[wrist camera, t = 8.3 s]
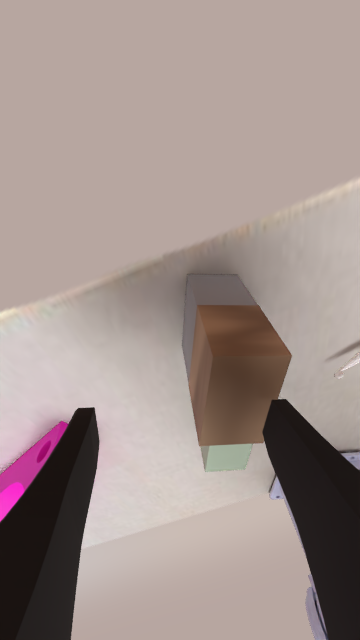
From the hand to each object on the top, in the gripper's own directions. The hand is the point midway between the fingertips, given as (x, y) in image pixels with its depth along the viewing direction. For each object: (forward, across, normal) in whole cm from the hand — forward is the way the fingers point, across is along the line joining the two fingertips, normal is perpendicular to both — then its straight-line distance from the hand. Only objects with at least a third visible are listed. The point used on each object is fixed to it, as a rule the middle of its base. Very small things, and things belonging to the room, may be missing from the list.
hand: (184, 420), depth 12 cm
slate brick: (+10, -3, +1) cm, 11 cm away
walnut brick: (+6, -3, +1) cm, 7 cm away
